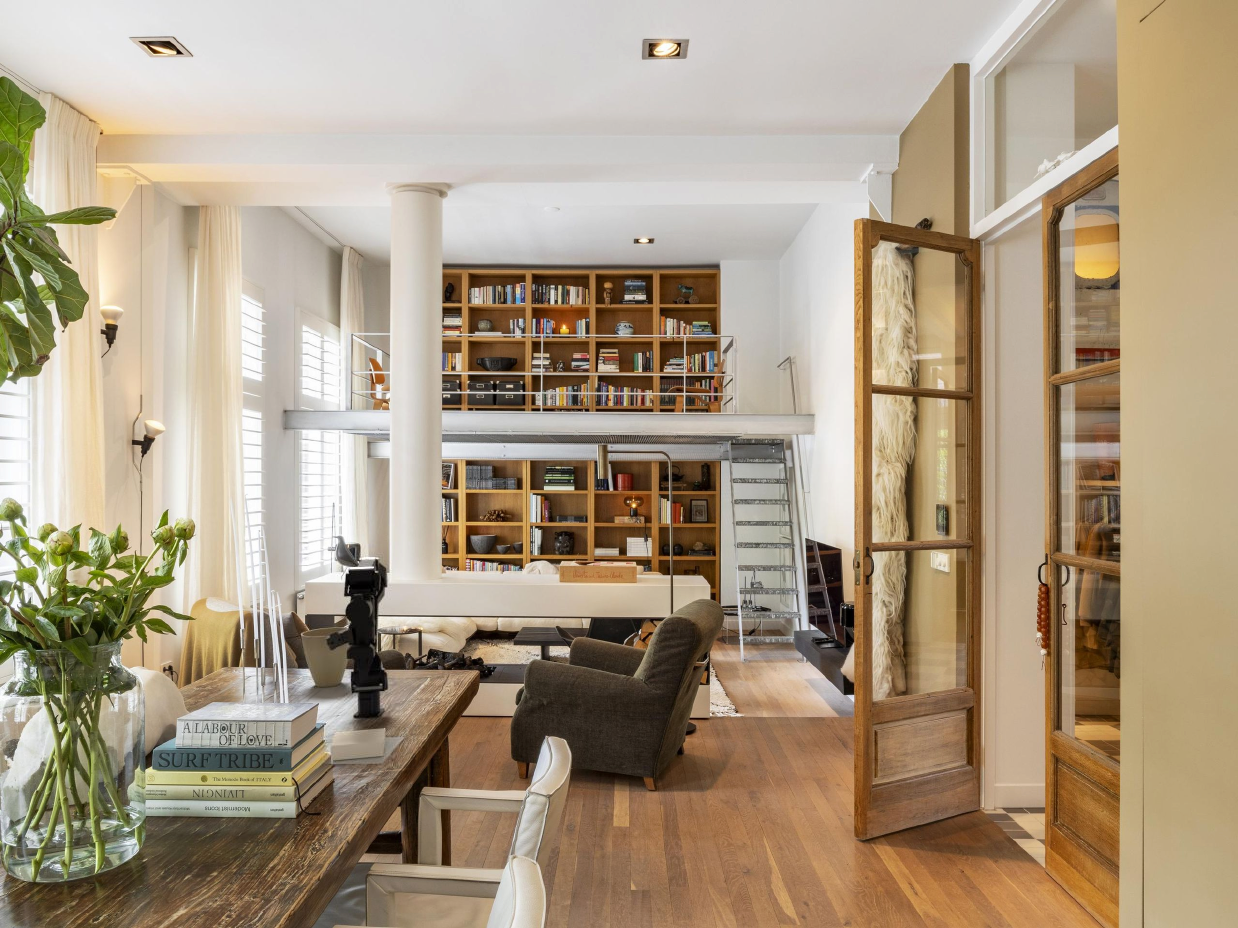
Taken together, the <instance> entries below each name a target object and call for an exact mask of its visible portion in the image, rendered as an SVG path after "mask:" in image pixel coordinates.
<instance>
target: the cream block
mask: <svg viewBox="0 0 1238 928" xmlns="http://www.w3.org/2000/svg"><path fill="white" fill-rule="evenodd" d="M385 737H386V728H385V727H383V728H373V729H372V728H370V729H361V730H347V731H337V732H335V733H334V735H333V738H332V741H331V757H332V760H333V761H339V760H350V759H362V758H373V757H381V756H383V754H384V748H385Z"/></svg>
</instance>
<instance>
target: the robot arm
mask: <svg viewBox="0 0 1238 928" xmlns="http://www.w3.org/2000/svg"><path fill="white" fill-rule="evenodd" d="M344 577H345V578H344V590H343V597H345V598H347V597H350V600H349V603H348V604H347V605H346V607H345V610H344V611H345V617H346V619H347V621H349V624H348V626H347V627H346V628H347V629H344V630H341V631H339V632H337V631H335V632H334V633H330V635H329V636H327V638H326V641H327V645H328V646H329V649H330V651H331V650H334V649H336V648H337V647H339V646H342V645H344V644H347V643H348V645H351V646H350V647H349V648H348V649H347V659H348V660H353V669H351V670H350V688H351V689H350V690H351V694H357V711H355V713H354V714H353V715H352V716H353V718H371V717H372V718H376V717H379V716H380V715H381V714H382V713H383V712H384V711H385V710H386V709H385V708H384V707H381V692H385V691H387V690H388V689H389V681H388V680H389V679H388V673H387V672H386V670H385V667H383V661H382V658H381V656H379V654H378V638H379V637H378V630H379V629H378V628H379V605H380V603H381V601H382V600H383V598H384V597H385V596H386V595H385V592H386V588H388V571H387V567H385V566H384V565H383V564H382V563H381V562H380V558H379V557H377V556H368V557H367V556H366V557H364V556H363V557H361V558H359V562H358V565H357V566H354V567H353V566H352V567H349V568H348V571H345V575H344Z"/></svg>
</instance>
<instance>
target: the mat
mask: <svg viewBox="0 0 1238 928" xmlns="http://www.w3.org/2000/svg"><path fill="white" fill-rule="evenodd" d="M404 739H405V737H404V736H401V737H399V736H395V737H387V736H385V748H384V754H383V756H381V757H373V758H362V759H350V760H339V761H333V764H332V765H364V764H365V765H366V764H368V765H369V764H371V765H372V764H373V765H374V764H375V765H376V764H378V765H379V764H383V763H384V762H385V761H386V760H387V759H388V758H389V757H390V755H391V754H392V753H393V751H394V750H395V749H396V748H397V747H398V745H400V743H401V742H402V741H403V740H404ZM326 748H327V750H328V751H329V752H330V753H331V744H330V745H328V746H327V747H326Z"/></svg>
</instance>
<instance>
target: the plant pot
mask: <svg viewBox="0 0 1238 928" xmlns="http://www.w3.org/2000/svg"><path fill="white" fill-rule="evenodd" d="M347 628H348V627H325V628H316V629H311V630H307V631H303V632H301V634H300V636H301V643H302V647H303V653H304V656H305V660H306V663H307V667H308V671H309V672H310V675H311V678H312V680H313V683H314V685H315V687H319V688H328V687H335V686H338V685H340V684H342V681H343V679H344V678H343V677H344V675H345V673H346V669H347V665H348V661H349V659H347V649H348V648H349V647H350V646H351V645H348V643H347V644H344V645H342V646H339V647H337V648H336V649H334V650H331V651H330V649H329V646H328V645H327V641H326V638H327V636H329V635H330V633H334V632H335V631H337V632H339V631H341V630H344V629H347Z"/></svg>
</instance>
